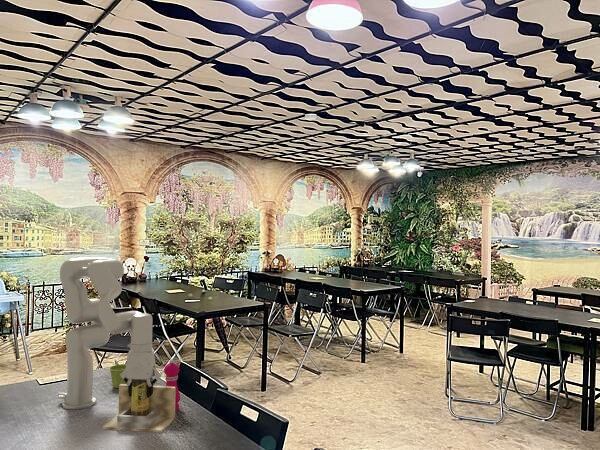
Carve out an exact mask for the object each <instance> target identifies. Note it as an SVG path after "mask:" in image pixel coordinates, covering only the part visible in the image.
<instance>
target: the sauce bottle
mask: <svg viewBox="0 0 600 450" xmlns="http://www.w3.org/2000/svg"><path fill="white" fill-rule="evenodd" d="M147 387H148V383H147V380H135V379H133V380H132V398H131V414H132V415H134V416H142V415H145V414H147V413H148V408H149V398H147Z"/></svg>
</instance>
